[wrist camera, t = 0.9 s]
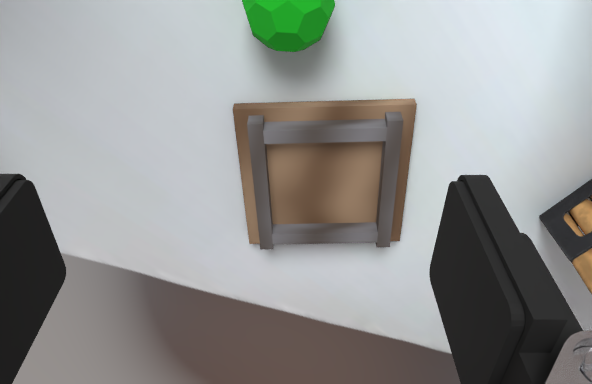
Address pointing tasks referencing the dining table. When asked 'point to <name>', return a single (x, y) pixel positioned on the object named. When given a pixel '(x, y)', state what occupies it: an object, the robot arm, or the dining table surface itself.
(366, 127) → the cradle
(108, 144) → the dining table surface
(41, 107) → the dining table surface
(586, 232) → the ammunition clip
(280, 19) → the polyhedron
